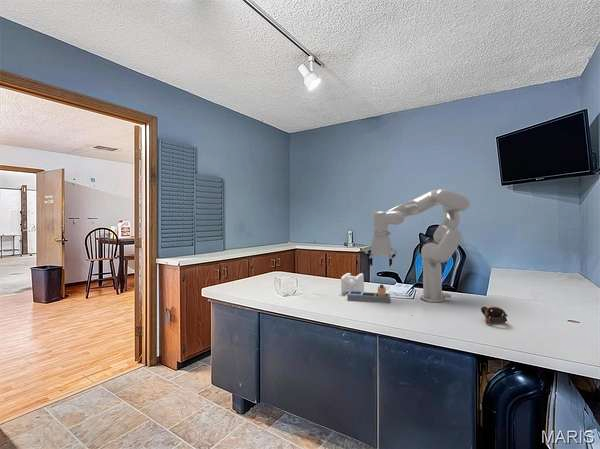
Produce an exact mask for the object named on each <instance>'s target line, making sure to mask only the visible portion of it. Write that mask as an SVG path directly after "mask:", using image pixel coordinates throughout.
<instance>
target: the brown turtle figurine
mask: <svg viewBox="0 0 600 449" xmlns="http://www.w3.org/2000/svg"><path fill="white" fill-rule="evenodd" d="M480 311H481V313H482V314H483V316H484V318H485V324H486V325H487V324H489V325H501V324H502V323H504V322H508V319H507V317H508V314H507V313H506V311H505V310H504V309H503V308H501V307H499V306H490V307H487V306H482V307H480ZM489 325H488V326H489Z"/></svg>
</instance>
